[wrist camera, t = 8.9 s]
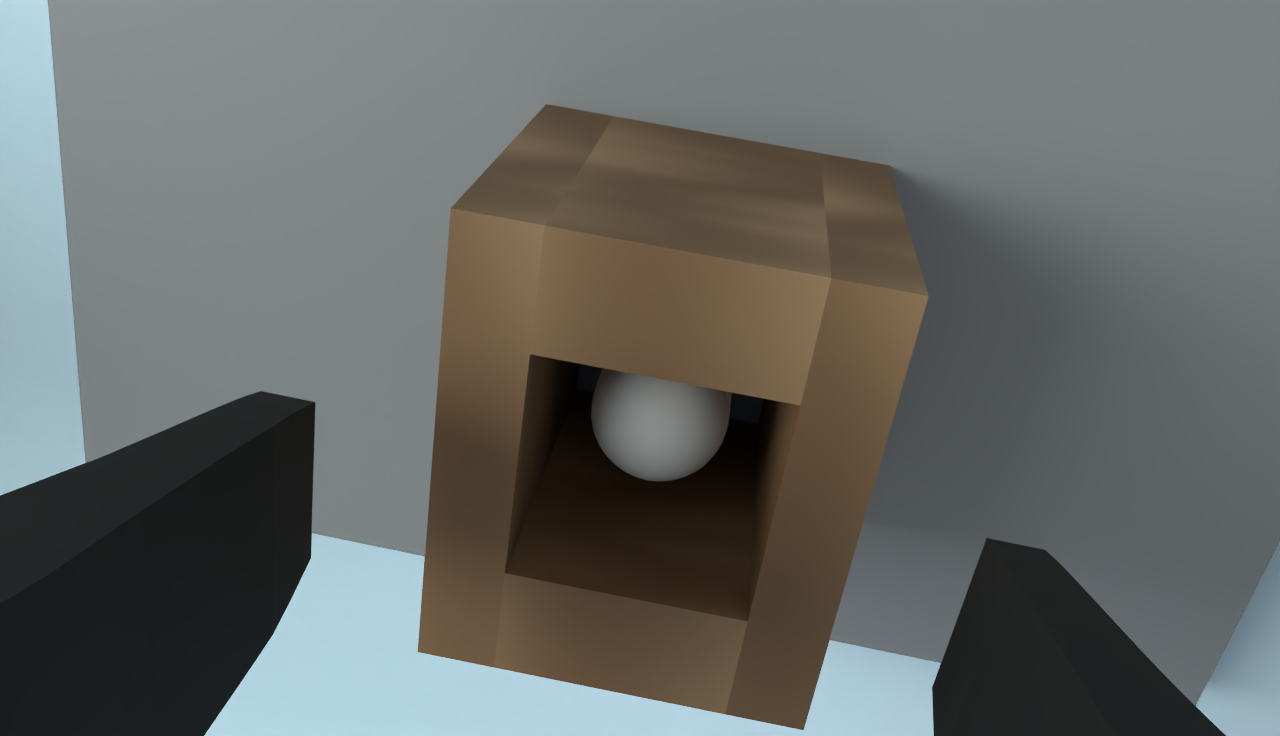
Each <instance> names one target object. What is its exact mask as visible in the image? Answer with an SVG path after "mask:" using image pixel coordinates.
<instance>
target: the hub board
mask: <svg viewBox="0 0 1280 736" xmlns="http://www.w3.org/2000/svg"><path fill="white" fill-rule="evenodd" d="M48 7H49V19H50V31H51V44H52V56H53V68H54V80H55V93H56V105H57V117H58V129H59V142H60V154H61V166H62V178H63V191H64V203H65V215H66V228H67V240H68V252H69V264H70V277H71V289H72V301H73V313H74V326H75V338H76V350H77V362H78V375H79V387H80V399H81V411H82V424H83V436H84V448H85V461H86V463H87V462H90V461H93V460H95V459H98V458H100V457H103V456H105V455H107V454H110V453H112V452H114V451H117V450H119V449H121V448H124V447H126V446H128V445H131V444H133V443H135V442H138V441H140V440H142V439H145V438H147V437H149V436H152V435H154V434H156V433H159V432H161V431H164V430H166V429H168V428H170V427H173V426H175V425H177V424H180V423H182V422H184V421H187V420H189V419H191V418H193V417H196V416H198V415H200V414H203V413H205V412H207V411H210V410H212V409H214V408H217V407H219V406H221V405H224V404H226V403H229V402H231V401H234V400H236V399H239V398H242V397H244V396H247V395H250V394H253V393H256V392H259V391H263V392H268V393H273V394H278V395H283V396H288V397H293V398H298V399H303V400H308V401H313V402H315V436H314V469H313V503H312V533H315V534H320V535H325V536H329V537H334V538H339V539H344V540H349V541H354V542H359V543H363V544H368V545H373V546H378V547H383V548H388V549H392V550H397V551H402V552H407V553H412V554H417V555H421V556H425V549H426V535H427V522H428V508H429V495H430V481H431V468H432V454H433V441H434V427H435V414H436V400H437V387H438V373H439V359H440V346H441V332H442V319H443V305H444V292H445V278H446V265H447V251H448V238H449V224H450V211H451V207H452V206H453V205H454V204H455V203H456V202H457V201H458V200H459V199H460V197H461V196H462V195H463V194H464V193H465V192H466V191H467V190H468V189H469V188H470V187H471V186H472V184H473V183H474V182H475V181H476V180H477V179H478V178H479V177H480V176H481V175H482V174H483V172H484V171H485V170H486V169H487V168H488V167H489V166H490V165H491V164H492V163H493V162H494V160H495V159H496V158H497V157H498V156H499V155H500V154H501V153H502V152H503V151H504V150H505V148H506V147H507V146H508V145H509V144H510V143H511V142H512V141H513V140H514V139H515V138H516V136H517V135H518V134H519V133H520V132H521V131H522V130H523V129H524V128H525V127H526V126H527V124H528V123H529V122H530V121H531V120H532V119H533V118H534V117H535V116H536V115H537V114H538V112H539V111H540V110H541V109H542V108H543V107H544V106H545V105H546V104H549V105H554V106H560V107H565V108H571V109H577V110H582V111H588V112H593V113H599V114H605V115H610V116H616V117H621V118H627V119H633V120H638V121H644V122H649V123H655V124H661V125H666V126H672V127H677V128H683V129H688V130H694V131H700V132H705V133H711V134H716V135H722V136H728V137H733V138H739V139H744V140H750V141H756V142H761V143H767V144H772V145H778V146H784V147H789V148H795V149H800V150H806V151H811V152H817V153H823V154H828V155H834V156H839V157H845V158H851V159H856V160H862V161H867V162H873V163H879V164H884V165H889V166H890V169H891V173H892V176H893V179H894V183H895V186H896V189H897V193H898V196H899V199H900V203H901V206H902V209H903V213H904V216H905V219H906V223H907V226H908V229H909V233H910V236H911V239H912V243H913V246H914V249H915V252H916V256H917V259H918V262H919V266H920V269H921V272H922V276H923V279H924V282H925V286H926V289H927V292H928V296H929V297H928V300H927V303H926V307H925V310H924V314H923V317H922V321H921V324H920V328H919V331H918V335H917V338H916V342H915V345H914V348H913V352H912V355H911V359H910V362H909V366H908V369H907V373H906V376H905V380H904V383H903V387H902V390H901V393H900V397H899V400H898V404H897V407H896V411H895V414H894V418H893V421H892V425H891V428H890V432H889V435H888V439H887V442H886V445H885V449H884V452H883V456H882V459H881V463H880V466H879V470H878V473H877V477H876V480H875V484H874V487H873V490H872V494H871V497H870V501H869V504H868V508H867V511H866V515H865V518H864V522H863V525H862V529H861V532H860V535H859V539H858V542H857V546H856V549H855V553H854V556H853V560H852V563H851V567H850V570H849V574H848V577H847V581H846V584H845V587H844V591H843V594H842V598H841V601H840V605H839V608H838V612H837V615H836V619H835V622H834V626H833V629H832V632H831V636H830V639H829V640H833V641H838V642H843V643H848V644H853V645H857V646H862V647H867V648H872V649H877V650H882V651H886V652H891V653H896V654H901V655H906V656H911V657H916V658H920V659H925V660H930V661H935V662H940V663H941V662H942V660H943V657H944V654H945V651H946V649H947V646H948V643H949V640H950V638H951V635H952V632H953V629H954V626H955V624H956V621H957V618H958V615H959V613H960V610H961V607H962V604H963V602H964V599H965V596H966V593H967V591H968V588H969V585H970V582H971V580H972V577H973V574H974V571H975V569H976V566H977V563H978V560H979V557H980V555H981V552H982V549H983V546H984V544H985V541H986V538H990V539H995V540H999V541H1004V542H1009V543H1014V544H1019V545H1024V546H1029V547H1034V548H1039V549H1044V550H1046V551H1047V552H1048V553H1049V554H1050V555H1051V556H1053V557H1054V558H1055V559H1056V560H1057V561H1058V562H1059V563H1060V564H1061V565H1062V566H1063V567H1064V568H1065V569H1066V570H1067V571H1068V572H1069V573H1070V574H1071V575H1072V576H1073V578H1074V579H1075V580H1076V581H1077V582H1078V583H1079V584H1080V585H1081V586H1082V587H1083V588H1084V589H1085V590H1086V591H1087V592H1088V594H1089V595H1090V596H1091V597H1092V598H1093V599H1094V600H1095V601H1096V602H1097V603H1098V604H1099V605H1100V607H1101V608H1102V609H1103V610H1104V611H1105V612H1106V613H1107V614H1108V615H1109V616H1110V617H1111V618H1112V620H1113V621H1114V622H1115V623H1116V624H1117V625H1118V626H1119V627H1120V628H1121V629H1122V630H1123V631H1124V633H1125V634H1126V635H1127V636H1128V637H1129V638H1130V639H1131V640H1132V641H1133V642H1134V643H1135V644H1136V645H1137V646H1138V648H1139V649H1140V650H1141V651H1142V652H1143V653H1144V654H1145V655H1146V656H1147V657H1148V658H1149V659H1150V660H1151V661H1152V662H1153V663H1154V664H1155V665H1156V667H1157V668H1158V669H1159V670H1160V671H1161V672H1162V673H1163V674H1164V675H1165V676H1166V677H1167V678H1168V679H1169V680H1170V681H1171V682H1172V683H1173V684H1174V685H1175V686H1176V687H1177V688H1178V689H1179V690H1180V691H1181V692H1182V693H1183V694H1184V695H1185V696H1186V697H1187V698H1188V699H1189V700H1190V701H1191V702H1192V703H1193V704H1194V705H1195V706H1196V704H1197V702H1198V700H1199V698H1200V696H1201V694H1202V692H1203V690H1204V688H1205V686H1206V684H1207V682H1208V680H1209V678H1210V676H1211V674H1212V672H1213V670H1214V668H1215V667H1216V665H1217V663H1218V661H1219V659H1220V657H1221V655H1222V653H1223V651H1224V649H1225V647H1226V645H1227V643H1228V641H1229V639H1230V637H1231V635H1232V633H1233V631H1234V629H1235V627H1236V625H1237V623H1238V622H1239V620H1240V618H1241V616H1242V614H1243V612H1244V610H1245V608H1246V606H1247V604H1248V602H1249V600H1250V598H1251V596H1252V594H1253V592H1254V590H1255V588H1256V586H1257V584H1258V582H1259V580H1260V578H1261V577H1262V575H1263V573H1264V571H1265V569H1266V567H1267V565H1268V563H1269V561H1270V559H1271V557H1272V555H1273V553H1274V551H1275V549H1276V547H1277V545H1278V543H1279V541H1280V0H48ZM576 389H577V390H583V391H588V392H593V393H594V394H593V398H592V406H591V420H592V425H593V430H594V433H595V436H596V439H597V441H598V444H599V446H600V447H601V449H602V450H603V452H604V453H605V455H606V456H607V457H608V458H609V459H610V460H611V461H612V462H613V463H614V464H615V465H616V466H617V467H619V468H620V469H622V470H623V471H624V472H626V473H628V474H630V475H632V476H634V477H637V478H640V479H644V480H648V481H657V482H659V481H671V480H675V479H680V478H683V477H685V476H688V475H690V474H692V473H695V472H696V471H697V470H699V469H700V468H702V467H703V466H704V465H705V464H706V463H707V462H708V461H709V460H710V459H711V458H712V457H713V456H714V455H715V454H716V452H717V451H718V449H719V447H720V446H721V444H722V442H723V439H724V436H725V434H726V431H727V427H728V422H729V418H730V419H735V420H740V421H745V422H751V423H756V424H759V420H760V416H761V411H762V407H763V402H764V399H763V398H758V397H753V396H748V395H742V394H737V393H732V392H726V391H721V390H716V389H711V388H705V387H700V386H695V385H689V384H684V383H679V382H674V381H668V380H663V379H658V378H652V377H647V376H642V375H637V374H631V373H626V372H621V371H616V370H610V369H605V368H600V367H594V366H589V365H584V364H580V366H579V373H578V381H577V388H576Z"/></svg>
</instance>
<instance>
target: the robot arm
mask: <svg viewBox="0 0 1280 736" xmlns="http://www.w3.org/2000/svg"><path fill="white" fill-rule="evenodd" d="M314 436H315V402H313V401H308V400H303V399H298V398H293V397H288V396H283V395H278V394H273V393H268V392H263V391H259V392H256V393H253V394H250V395H247V396H244V397H242V398H239V399H236V400H234V401H231V402H229V403H226V404H224V405H221V406H219V407H217V408H214V409H212V410H210V411H207V412H205V413H203V414H200V415H198V416H196V417H193V418H191V419H189V420H187V421H184V422H182V423H180V424H177V425H175V426H173V427H170V428H168V429H166V430H164V431H161V432H159V433H156V434H154V435H152V436H149V437H147V438H145V439H142V440H140V441H138V442H135V443H133V444H131V445H128V446H126V447H124V448H121V449H119V450H117V451H114V452H112V453H110V454H107V455H105V456H103V457H100V458H98V459H95V460H93V461H90V462H87V463H85V464H82V465H80V466H77V467H74V468H72V469H69V470H66V471H64V472H61V473H59V474H56V475H53V476H51V477H48V478H45V479H43V480H40V481H38V482H35V483H32V484H30V485H27V486H25V487H22V488H19V489H17V490H14V491H11V492H9V493H6V494H4V495H1V496H0V736H204V735H205V733H206V732H207V730H208V729H209V728H210V726H211V725H212V723H213V722H214V720H215V719H216V717H217V716H218V715H219V713H220V712H221V710H222V709H223V707H224V706H225V704H226V703H227V702H228V700H229V699H230V697H231V696H232V694H233V693H234V691H235V690H236V688H237V687H238V685H239V684H240V682H241V681H242V680H243V678H244V677H245V675H246V674H247V672H248V671H249V669H250V668H251V666H252V665H253V663H254V662H255V660H256V659H257V657H258V656H259V654H260V653H261V651H262V650H263V648H264V647H265V645H266V644H267V642H268V641H269V639H270V638H271V636H272V635H273V633H274V631H275V629H276V627H277V625H278V623H279V621H280V619H281V618H282V616H283V614H284V612H285V610H286V608H287V606H288V604H289V602H290V600H291V598H292V596H293V594H294V592H295V590H296V588H297V586H298V584H299V581H300V579H301V577H302V575H303V573H304V571H305V569H306V567H307V565H308V563H309V561H310V559H311V536H312V503H313V469H314ZM932 691H933V721H934V736H1226V735H1225V734H1224V733H1223V732H1221V731H1220V730H1219V729H1218V728H1217V727H1216V726H1215V725H1214V724H1213V723H1212V722H1211V721H1210V720H1209V719H1208V718H1207V717H1206V716H1205V715H1204V714H1203V713H1202V712H1201V711H1200V710H1199V709H1198V708H1197V707H1196V706H1195V705H1194V704H1193V703H1192V702H1191V701H1190V700H1189V699H1188V698H1187V697H1186V696H1185V695H1184V694H1183V693H1182V692H1181V691H1180V690H1179V689H1178V688H1177V687H1176V686H1175V685H1174V684H1173V683H1172V682H1171V681H1170V680H1169V679H1168V678H1167V677H1166V676H1165V675H1164V674H1163V673H1162V672H1161V671H1160V670H1159V669H1158V668H1157V667H1156V665H1155V664H1154V663H1153V662H1152V661H1151V660H1150V659H1149V658H1148V657H1147V656H1146V655H1145V654H1144V653H1143V652H1142V651H1141V650H1140V649H1139V648H1138V646H1137V645H1136V644H1135V643H1134V642H1133V641H1132V640H1131V639H1130V638H1129V637H1128V636H1127V635H1126V634H1125V633H1124V631H1123V630H1122V629H1121V628H1120V627H1119V626H1118V625H1117V624H1116V623H1115V622H1114V621H1113V620H1112V618H1111V617H1110V616H1109V615H1108V614H1107V613H1106V612H1105V611H1104V610H1103V609H1102V608H1101V607H1100V605H1099V604H1098V603H1097V602H1096V601H1095V600H1094V599H1093V598H1092V597H1091V596H1090V595H1089V594H1088V592H1087V591H1086V590H1085V589H1084V588H1083V587H1082V586H1081V585H1080V584H1079V583H1078V582H1077V581H1076V580H1075V579H1074V578H1073V576H1072V575H1071V574H1070V573H1069V572H1068V571H1067V570H1066V569H1065V568H1064V567H1063V566H1062V565H1061V564H1060V563H1059V562H1058V561H1057V560H1056V559H1055V558H1054V557H1053V556H1051V555H1050V554H1049V553H1048V552H1047V551H1046V550H1044V549H1039V548H1034V547H1029V546H1024V545H1019V544H1014V543H1009V542H1004V541H999V540H995V539H990V538H986V541H985V544H984V546H983V549H982V552H981V555H980V557H979V560H978V563H977V566H976V569H975V571H974V574H973V577H972V580H971V582H970V585H969V588H968V591H967V593H966V596H965V599H964V602H963V604H962V607H961V610H960V613H959V615H958V618H957V621H956V624H955V626H954V629H953V632H952V635H951V638H950V640H949V643H948V646H947V649H946V651H945V654H944V657H943V660H942V662H941V665H940V668H939V671H938V673H937V676H936V679H935V682H934V684H933V687H932Z"/></svg>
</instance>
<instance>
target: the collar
mask: <svg viewBox="0 0 1280 736" xmlns="http://www.w3.org/2000/svg"><path fill="white" fill-rule="evenodd" d="M928 297H929V296H928V292H927V289H926V286H925V282H924V279H923V276H922V272H921V269H920V266H919V262H918V259H917V256H916V252H915V249H914V246H913V243H912V239H911V236H910V233H909V229H908V226H907V223H906V219H905V216H904V213H903V209H902V206H901V203H900V199H899V196H898V193H897V189H896V186H895V183H894V179H893V176H892V173H891V169H890V166H889V165H884V164H879V163H873V162H867V161H862V160H856V159H851V158H845V157H839V156H834V155H828V154H823V153H817V152H811V151H806V150H800V149H795V148H789V147H784V146H778V145H772V144H767V143H761V142H756V141H750V140H744V139H739V138H733V137H728V136H722V135H716V134H711V133H705V132H700V131H694V130H688V129H683V128H677V127H672V126H666V125H661V124H655V123H649V122H644V121H638V120H633V119H627V118H621V117H616V116H610V115H605V114H599V113H593V112H588V111H582V110H577V109H571V108H565V107H560V106H554V105H549V104H546V105H545V106H544V107H543V108H542V109H541V110H540V111H539V112H538V114H537V115H536V116H535V117H534V118H533V119H532V120H531V121H530V122H529V123H528V124H527V126H526V127H525V128H524V129H523V130H522V131H521V132H520V133H519V134H518V135H517V136H516V138H515V139H514V140H513V141H512V142H511V143H510V144H509V145H508V146H507V147H506V148H505V150H504V151H503V152H502V153H501V154H500V155H499V156H498V157H497V158H496V159H495V160H494V162H493V163H492V164H491V165H490V166H489V167H488V168H487V169H486V170H485V171H484V172H483V174H482V175H481V176H480V177H479V178H478V179H477V180H476V181H475V182H474V183H473V184H472V186H471V187H470V188H469V189H468V190H467V191H466V192H465V193H464V194H463V195H462V196H461V197H460V199H459V200H458V201H457V202H456V203H455V204H454V205H453V206H452V207H451V211H450V224H449V238H448V251H447V265H446V278H445V292H444V305H443V319H442V332H441V346H440V359H439V373H438V387H437V400H436V414H435V427H434V441H433V454H432V468H431V481H430V495H429V508H428V522H427V535H426V549H425V562H424V576H423V589H422V603H421V617H420V630H419V644H418V652H421V653H426V654H431V655H436V656H441V657H446V658H451V659H456V660H461V661H466V662H471V663H475V664H480V665H485V666H490V667H495V668H500V669H505V670H510V671H515V672H520V673H525V674H530V675H535V676H540V677H545V678H549V679H554V680H559V681H564V682H569V683H574V684H579V685H584V686H589V687H594V688H599V689H604V690H609V691H614V692H618V693H623V694H628V695H633V696H638V697H643V698H648V699H653V700H658V701H663V702H668V703H673V704H678V705H683V706H688V707H692V708H697V709H702V710H707V711H712V712H717V713H722V714H727V715H732V716H737V717H742V718H747V719H752V720H757V721H762V722H766V723H771V724H776V725H781V726H786V727H791V728H796V729H801V730H803V729H804V726H805V723H806V719H807V716H808V712H809V709H810V705H811V702H812V698H813V695H814V691H815V688H816V684H817V681H818V678H819V674H820V671H821V667H822V664H823V660H824V657H825V653H826V650H827V646H828V643H829V639H830V636H831V632H832V629H833V626H834V622H835V619H836V615H837V612H838V608H839V605H840V601H841V598H842V594H843V591H844V587H845V584H846V581H847V577H848V574H849V570H850V567H851V563H852V560H853V556H854V553H855V549H856V546H857V542H858V539H859V535H860V532H861V529H862V525H863V522H864V518H865V515H866V511H867V508H868V504H869V501H870V497H871V494H872V490H873V487H874V484H875V480H876V477H877V473H878V470H879V466H880V463H881V459H882V456H883V452H884V449H885V445H886V442H887V439H888V435H889V432H890V428H891V425H892V421H893V418H894V414H895V411H896V407H897V404H898V400H899V397H900V393H901V390H902V387H903V383H904V380H905V376H906V373H907V369H908V366H909V362H910V359H911V355H912V352H913V348H914V345H915V342H916V338H917V335H918V331H919V328H920V324H921V321H922V317H923V314H924V310H925V307H926V303H927V300H928ZM580 364H584V365H589V366H594V367H600V368H605V369H610V370H616V371H621V372H626V373H631V374H637V375H642V376H647V377H652V378H658V379H663V380H668V381H674V382H679V383H684V384H689V385H695V386H700V387H705V388H711V389H716V390H721V391H726V392H732V393H737V394H742V395H748V396H753V397H758V398H763V399H764V402H763V407H762V411H761V416H760V420H759V424H756V423H751V422H745V421H740V420H735V419H730V418H729V422H728V427H727V431H726V434H725V436H724V439H723V442H722V444H721V446H720V447H719V449H718V451H717V452H716V454H715V455H714V456H713V457H712V458H711V459H710V460H709V461H708V462H707V463H706V464H705V465H704V466H703V467H702V468H700V469H699V470H697V471H696V472H695V473H692V474H690V475H688V476H685V477H683V478H680V479H675V480H671V481H659V482H657V481H648V480H644V479H640V478H637V477H634V476H632V475H630V474H628V473H626V472H624V471H623V470H622V469H620V468H619V467H617V466H616V465H615V464H614V463H613V462H612V461H611V460H610V459H609V458H608V457H607V456H606V455H605V453H604V452H603V450H602V449H601V447H600V446H599V444H598V441H597V439H596V436H595V433H594V430H593V425H592V420H591V406H592V398H593V394H594V393H593V392H588V391H583V390H577V389H576V388H577V381H578V373H579V366H580Z"/></svg>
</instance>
